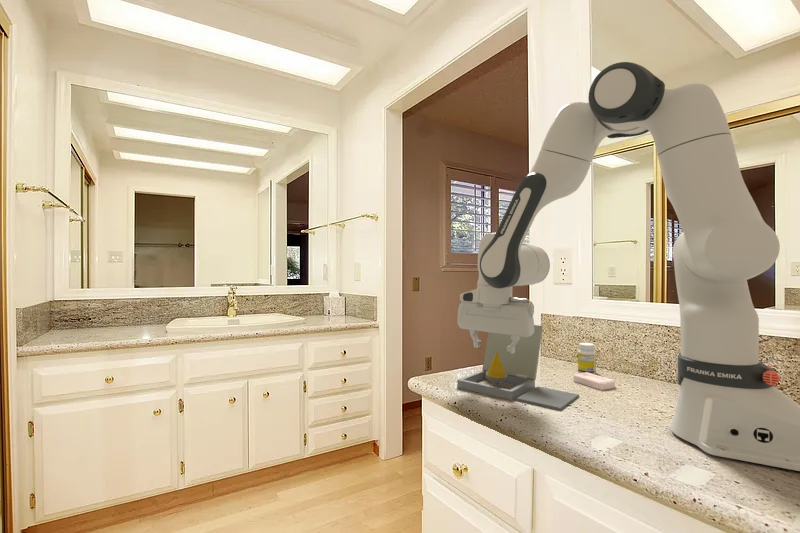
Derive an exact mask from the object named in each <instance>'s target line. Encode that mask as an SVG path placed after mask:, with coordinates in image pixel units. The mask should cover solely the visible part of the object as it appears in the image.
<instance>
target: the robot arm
mask: <svg viewBox="0 0 800 533" xmlns="http://www.w3.org/2000/svg"><path fill="white" fill-rule="evenodd" d="M665 87H666V84H665V82H664V81H663V80H662V79H660V78H659V77H658V76H656V75H654V74H653V73H652V72H651V71H650V70H649V69H647V68H646V67H644V66H642V65H640V64H638V63H635V62H630V61H620V62H616V63H613V64H610V65H608V66H607V67H605V68H603V69H602V70H601V71H599V73H598V74H597V75H596V76H595V78H594V79H593V81H592V83H591V85H590V88H589V91H588V97H587V98H588V102H582V101H577V102H570V103H568V104H565V105H564V106H562V107H561V108H560V109H559V110H558V112H557V114H556V115H555V118H554V119H553V121H552V123H551V125H550V127H549V128H548V131H547V132H546V135H545V138H544V140H543V142H542V145H541V148H540V150H539V152H538V154H537V158H536V160H535V162H534V164H533V166H532V168H531V169H530V171H529V172H528V173H527V175H526V176H525V177H524V178H523V179H522V180H521V182H520V183H519V184H518V185H517V188H516V190H515V192H514V194H513V196H512V197H511V200H510V202H509V205H508V207H507V208H506V210H505V213H504V215H503V217H502V219H501V221H500V224H499V226H498V228H497V230H496V232H490V233H487V234H485V235H484V236H482V237H481V239H480V241H479V244H478V249H477V250H478V251H477V270H478V279H477V283H476V284H477V286H476V289H472V290H469V291H465V292H462V293H460V294H459V300H460V304H458V309H457V318H456V319H457V322H456V323H457V325H458V327H459V329H461V330H462V329H463V330H469V335H470V338H471V339H472V342H473V343H472V344H473V348H476V349H477V348H478V349H481V348H482V346H483V344H482V342H483V341H482V340H481V339H480V338H479V337H478V336H479V335H478V334H479V332H485V333H489V332H491V333H498V334H505V335H511V340H513V341H512V343H511V345H509V346H507V353H511V354H513V353H515V346H516V344H517V343H518V341H519V340H520V337H530V336H532V334H533V333H534V325H535V321H534V313H535V305H534V304H533V302H532V301H531V300H529V299H528V298H524V297H523V298H519V297H513V287H519V286H520V287H521V286H530V285H531V286H532V285H536V284H540V283H541V282H543V281H544V280H546V278H547V276H548V275H549V272H550V266H551V265H550V264H551V262H550V259H549V255H548V254H547V252H546V251H545V250H544V249H542V248H540V247H538V246H536V245H532V244H529V243H525V242H524V241H525V239H526V236H528V235H527V234H528V232H529V231H530V229H531V227H532V225H533V223H534V221H535V218H536V216H537V215H538V214H539V213H540V211H541V210H542V209H543V208H545V207H546V206H547V205H549V204H551V203H552V202H555V201H557V200H560V199H563V198H566V197H568V196H570V195H572V194H573V193H575V192H576V191H578V190H579V188H580V187H581V185H582V184H583V182H584V181H585V179H586V177H587V175H588V172H589V170H590V167H591V164H592V162H593V160H594V157H595V155H596V152H597V149H598V148H599V145H600V144H601V142H602V141H603V140H604V139H605V138H606V137H607V138H608V139H618V138H628V137H638V136H641V135H642V136H643V135H645V134H647V133H650V135H651V137H652V138H653V141H654V145H655V150H656V153H657V159H658V164H659V167H660V173H661V177H662V180H663V184H664V190H665V194H666V197H667V199H668V200H669V202H670V203H671V205H672V207H673V209H674V212H675V214H676V217H677V220H678V222H679V225H680V228H681V230H682V232H681V233H680V234H679V235H678V236H677V238H676V239H675V241H674V244H673V246H672V258H673V259H672V260H673V266H674V278H675V284H676V285H675V286H676V291H677V292H676V293H677V299H678V304H679V314H680V315H679V316H680V317H679V318H680V326H679V328H680V332H679V333H680V338H679V339H680V353H678V355H677V360H676V380H677V384H678V393H677V394H678V395H677V401H676V406H675V409H674V410H675V411H674V414H673V417H672V421H671V423H670V424H669V428H670V430H671V432H672V433H673V434H674V435H676V436H677V437H679V438H681V439H683V440H684V441H686V442H689V443H691V444H693V445H695V446H697V447H698V448H700V449H701V450H702V451H703V452H705V453H706V454H709V455H712V456H716V457H722V458H727V459H732V460H739V461H744V462H749V463H754V464H761V465H765V466H770V467H776V468H781V469H787V470H790V471H791V470H793V471H798V472H800V404H799V403H797V402H796V401H795V400H793V399H792V398H791V397H789V396H788V395H786V394H785V393H783V392H782V391H781V390H780V389H778V388H776V387H775V386H776V385H777V384H778V383H780V376H779V373H778V372H776V371H775V369H774V368H772V366H770V365H768V366H767V364H765V363H763V362H760V351H759V350H760V341H759V340H760V337H759V336H760V330H759V329H760V326H759V325H760V324H759V322H760V320H759V319H760V318H759V314H758V312H757V311H756V308H755V306H754V303H753V301H752V296H751V293H750V289H749V285H748V280H750V279H753V278H755V277H758V276H759V275H761V274H763V273H765V272H766V271H768V270H769V269H770V268H771V267H772V266H773V265H774V264H775V263H776V261H777V260H778V258H779V255H780V247H781V246H780V241H779V240H780V239H779V238H778V235H777V234H776V232H775V230H773V229H772V228H771V227H770V225H768V224H767V223H766V222H765V220H764V219H763V217H762V215H761V212H760V210H759V209H758V206H757V204H756V202H755V200H754V199H753V196H752V195H751V193H750V192H749V188H748V187H747V184H746V183H745V180H744V178H743V176H742V175H743V174H742V172H741V168H740V165H739V160H738V157H737V153H736V150H735V146H734V141H733V138H732V137H733V136H732V133H731V130H730V126H729V122H728V119H727V117H726V114H725V111H724V109H723V107H722V105H721V103H720V101H719V98H718V97H717V96H716V94H715V92H714V90H713V89H712V88H711V87H710V86H709V85H706V84H704V83H690V84H689V83H687V84H683V85H681V86H677V87H673V88H671V89H667V88H665Z"/></svg>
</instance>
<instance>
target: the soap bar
mask: <svg viewBox="0 0 800 533" xmlns="http://www.w3.org/2000/svg"><path fill="white" fill-rule="evenodd" d="M572 378H573V379H572V380H573V382H576V383H579V384H580V385H583V386H584V385H585V386H587V387H590V388H594V389H596V390H601V391H604V390H609V389H613V388H616V380H614V379H611V378H608V377H604V376H600V375H597V374H591V373H588V372H586V373H580V372H578V373H574V374H573V377H572Z"/></svg>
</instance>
